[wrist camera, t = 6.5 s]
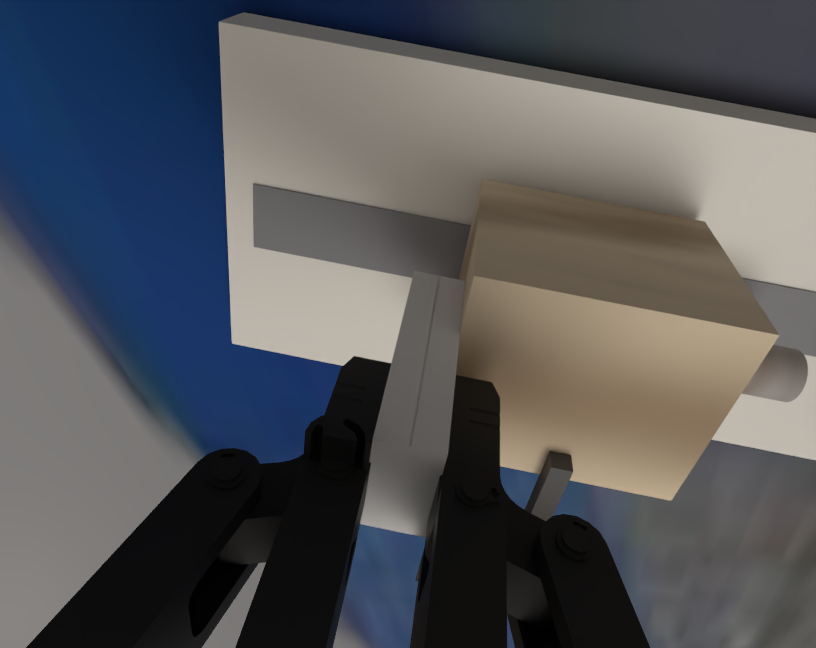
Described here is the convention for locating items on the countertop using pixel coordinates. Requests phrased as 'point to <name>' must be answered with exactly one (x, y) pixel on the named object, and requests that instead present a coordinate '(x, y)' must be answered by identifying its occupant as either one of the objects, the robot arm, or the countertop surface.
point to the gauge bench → (460, 182)
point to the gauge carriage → (609, 340)
